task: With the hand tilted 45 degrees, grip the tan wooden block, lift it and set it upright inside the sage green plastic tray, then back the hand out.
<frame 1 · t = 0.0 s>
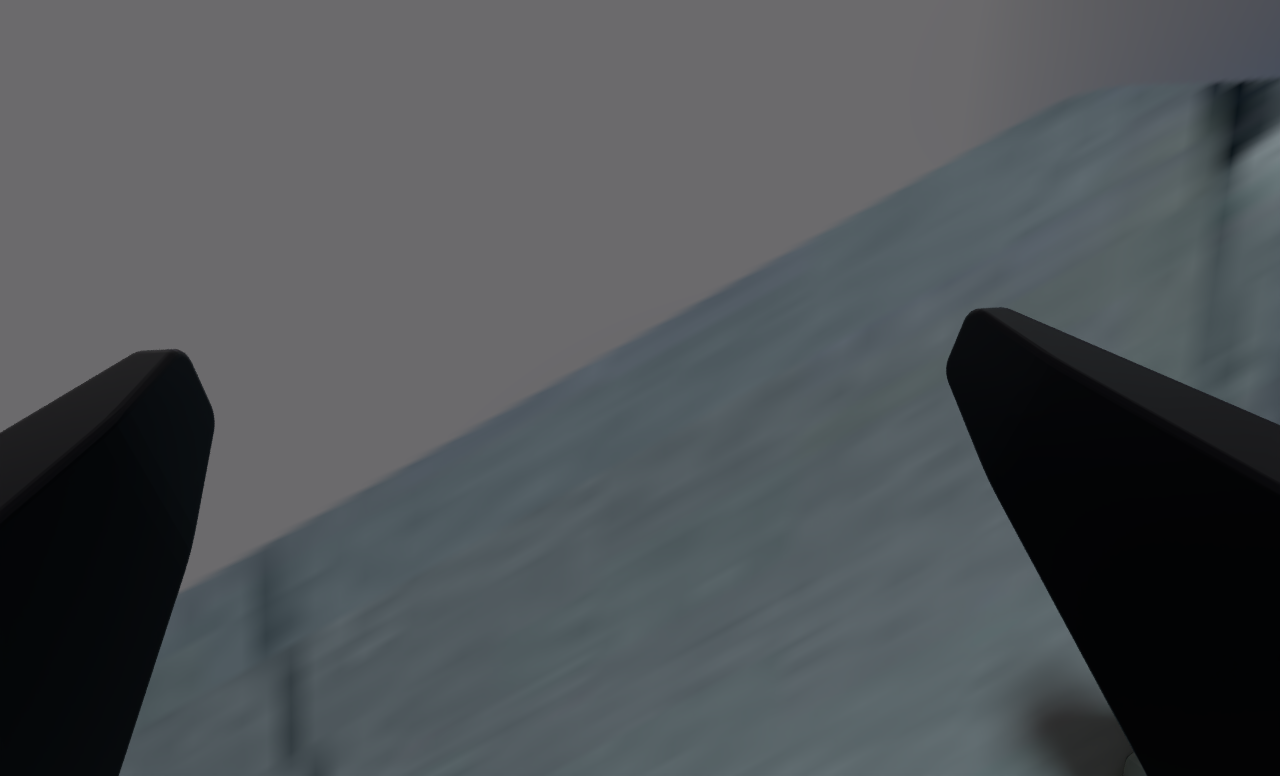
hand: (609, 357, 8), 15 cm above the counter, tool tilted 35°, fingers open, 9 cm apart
valve: (1227, 731, 30), on the counter
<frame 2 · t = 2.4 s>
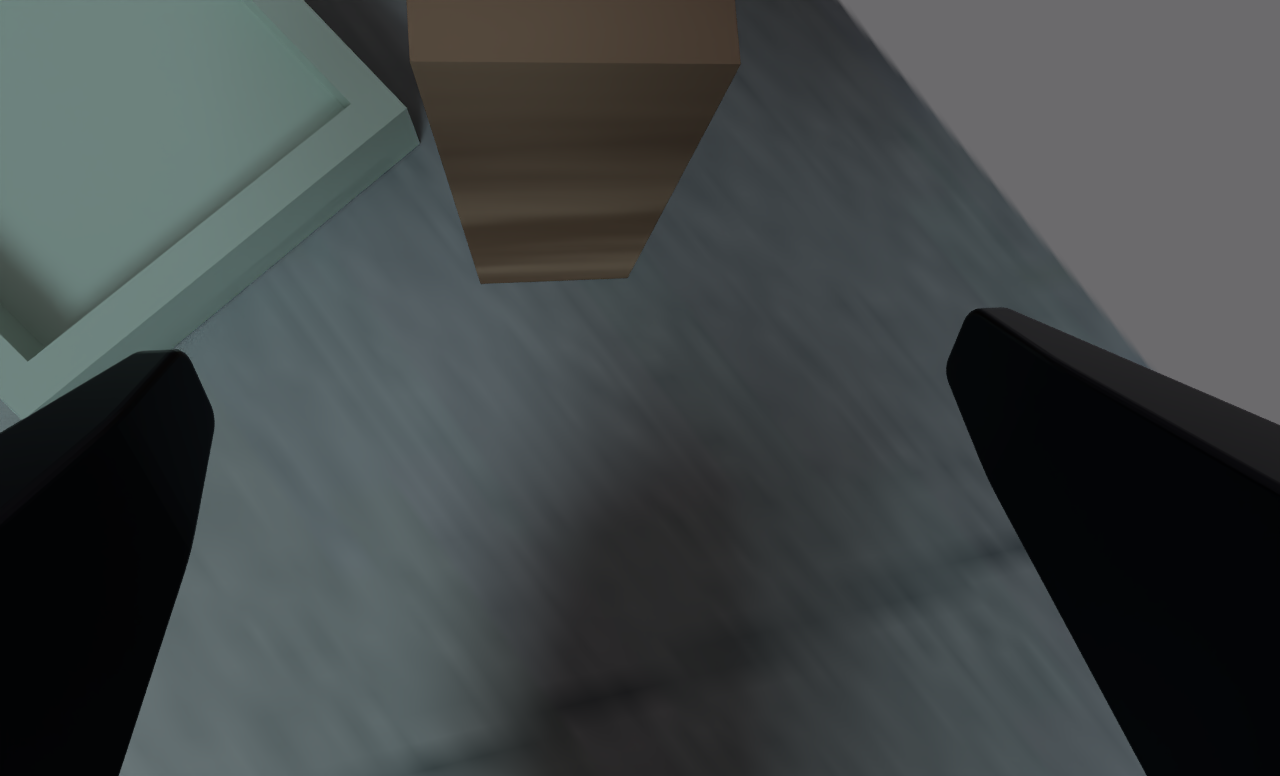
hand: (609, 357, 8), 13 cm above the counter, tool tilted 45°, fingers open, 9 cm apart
tan wooden block: (550, 209, 21), on the counter
tray: (106, 121, 20), on the counter
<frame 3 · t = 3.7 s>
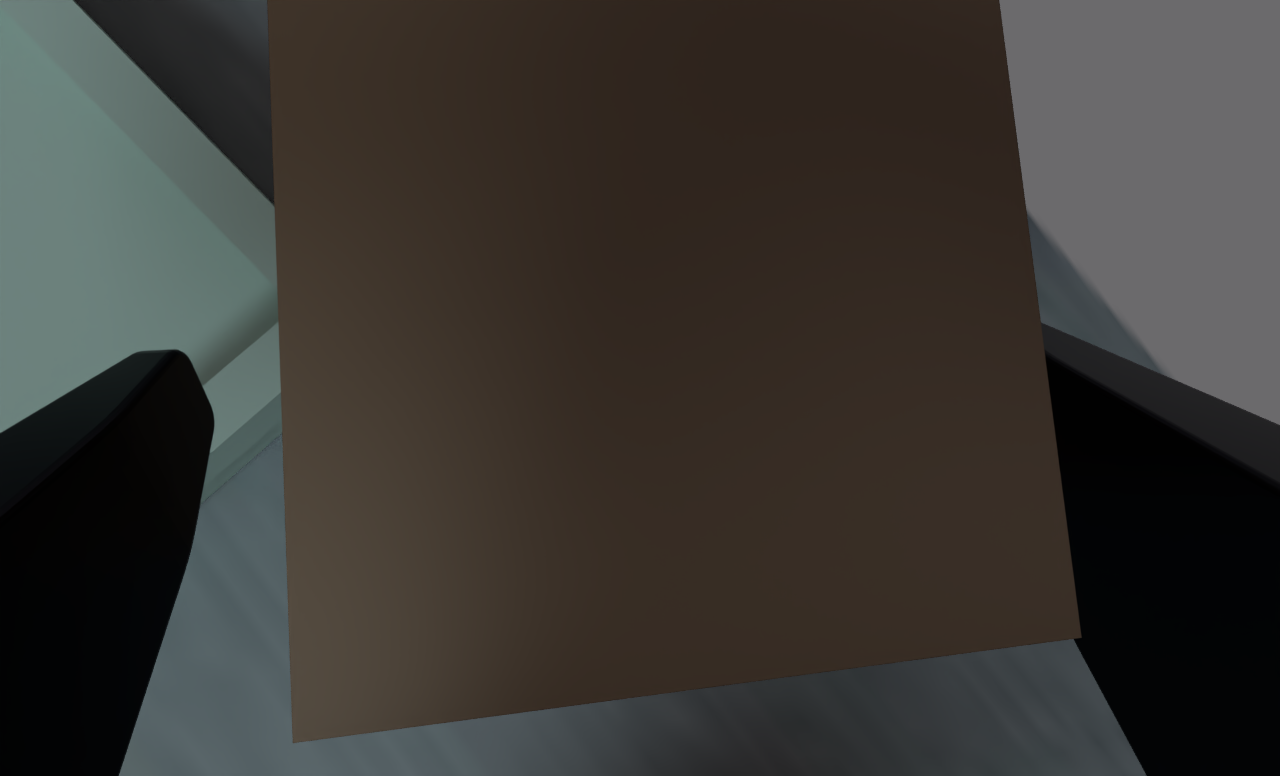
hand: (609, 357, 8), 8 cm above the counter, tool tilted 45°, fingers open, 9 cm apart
tan wooden block: (574, 414, 16), on the counter
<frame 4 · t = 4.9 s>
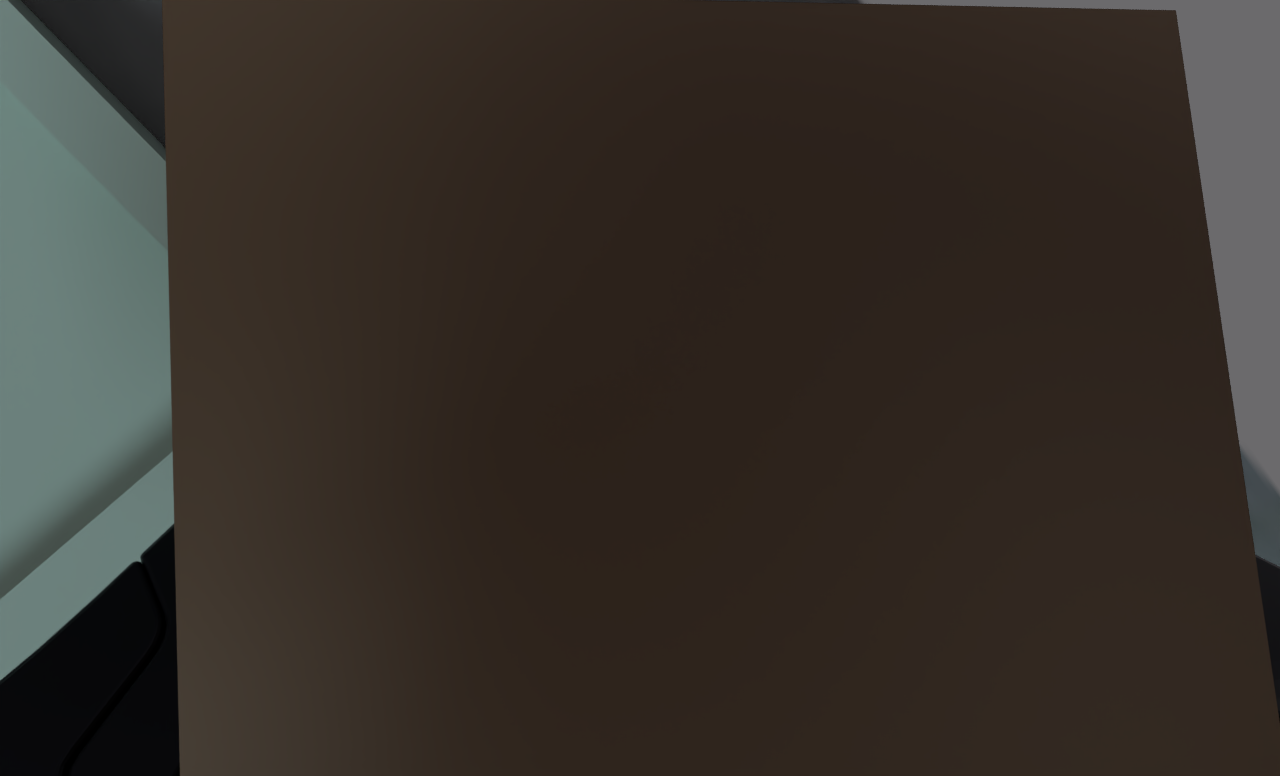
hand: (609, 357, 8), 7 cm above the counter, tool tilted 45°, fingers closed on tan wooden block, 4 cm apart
tan wooden block: (580, 466, 15), on the counter, touching gripper
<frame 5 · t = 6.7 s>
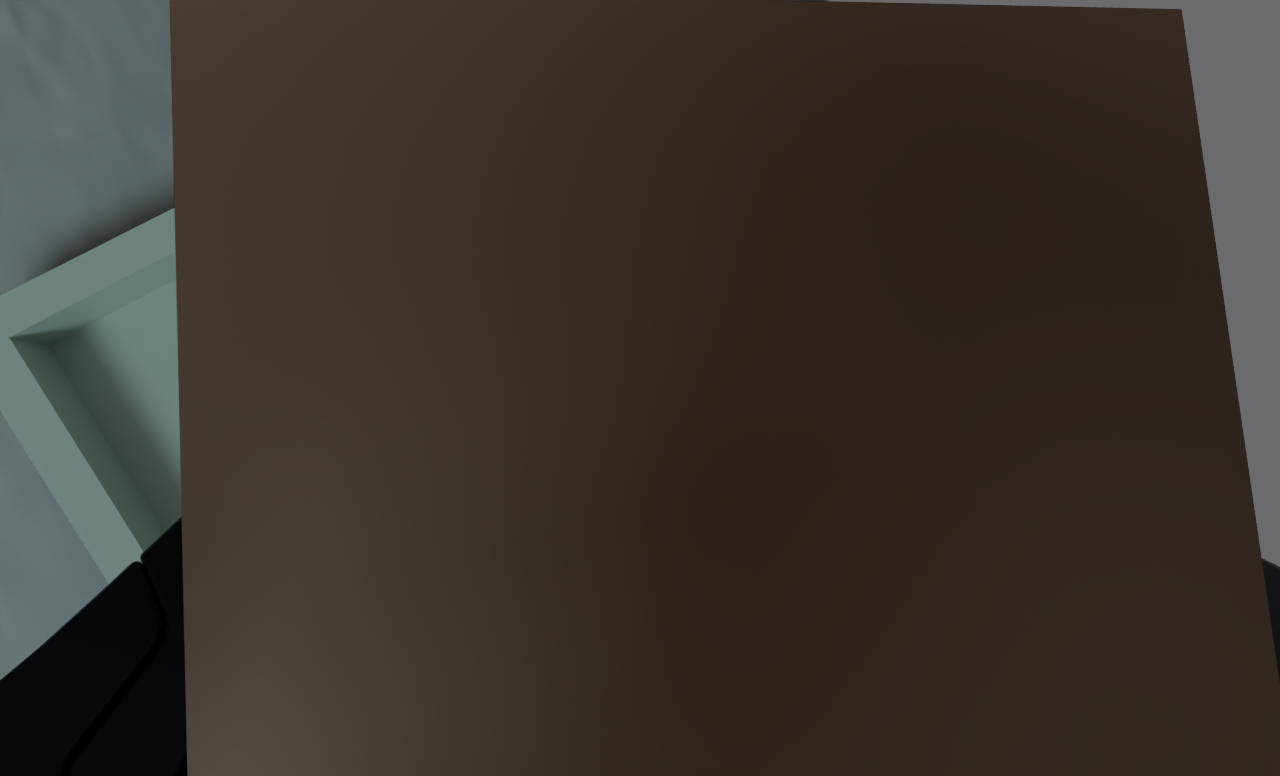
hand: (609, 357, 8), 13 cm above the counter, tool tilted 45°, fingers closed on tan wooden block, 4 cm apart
tan wooden block: (582, 466, 15), point 6 cm above the counter, touching gripper
tray: (333, 408, 20), on the counter
when the fingers open (9 cm above the counter, at t = 8.5 s): tan wooden block drops 1 cm, resting on tray.
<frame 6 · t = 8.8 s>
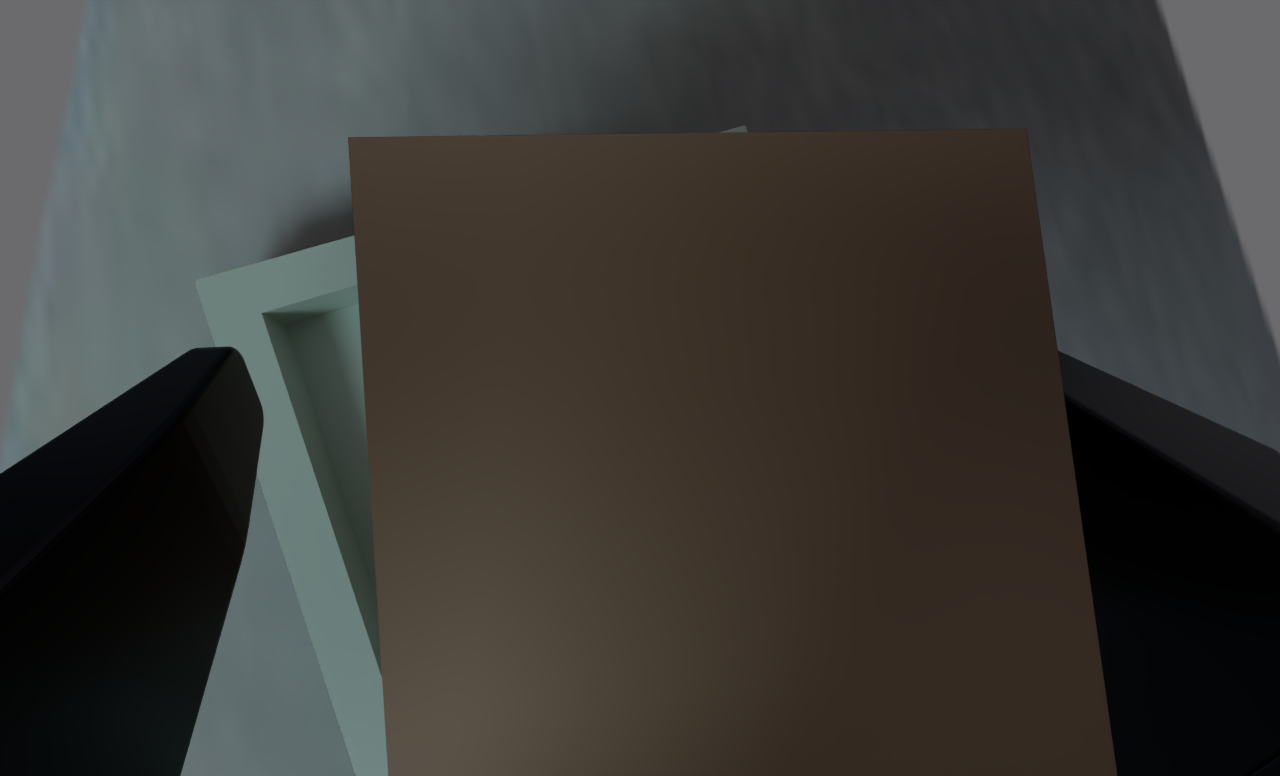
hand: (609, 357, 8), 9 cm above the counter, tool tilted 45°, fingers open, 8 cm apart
tan wooden block: (579, 462, 16), point 1 cm above the counter, touching tray
tray: (574, 463, 17), on the counter
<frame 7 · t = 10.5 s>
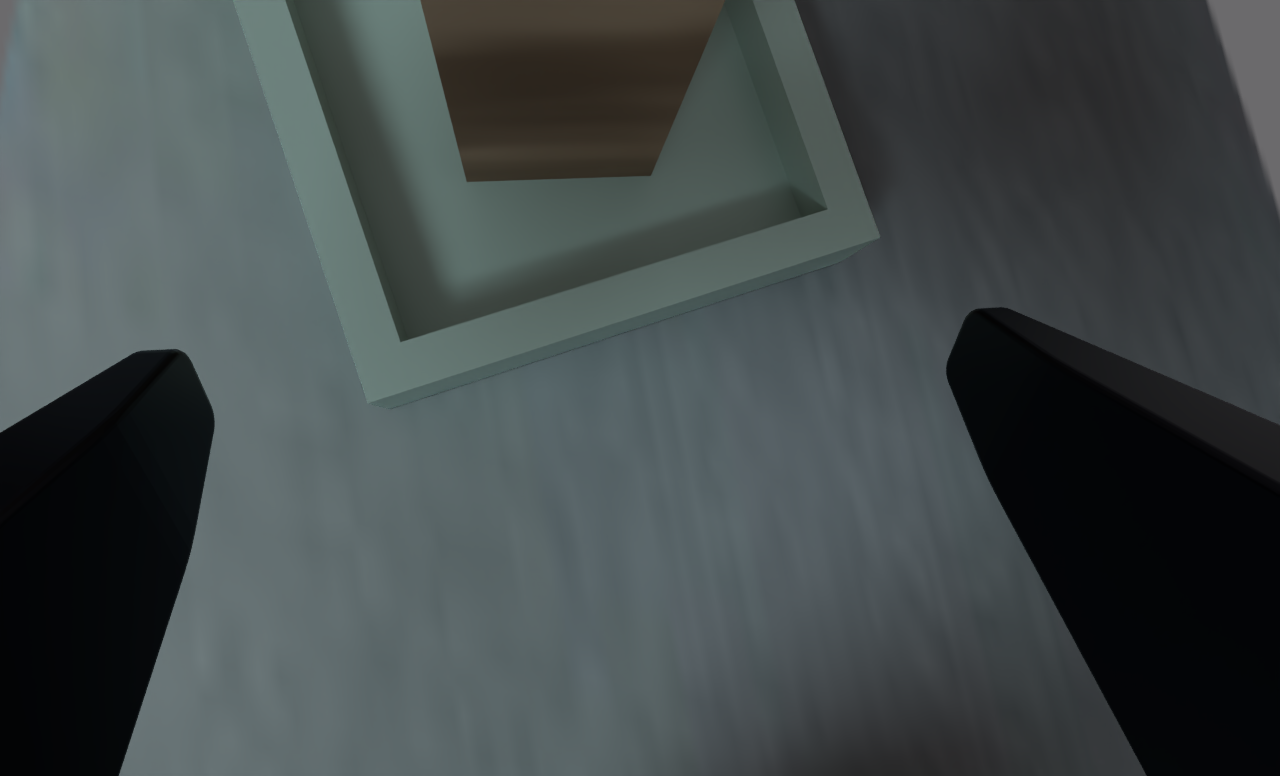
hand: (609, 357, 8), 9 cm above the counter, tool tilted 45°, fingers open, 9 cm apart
tan wooden block: (553, 90, 17), point 1 cm above the counter, touching tray
tray: (549, 108, 18), on the counter
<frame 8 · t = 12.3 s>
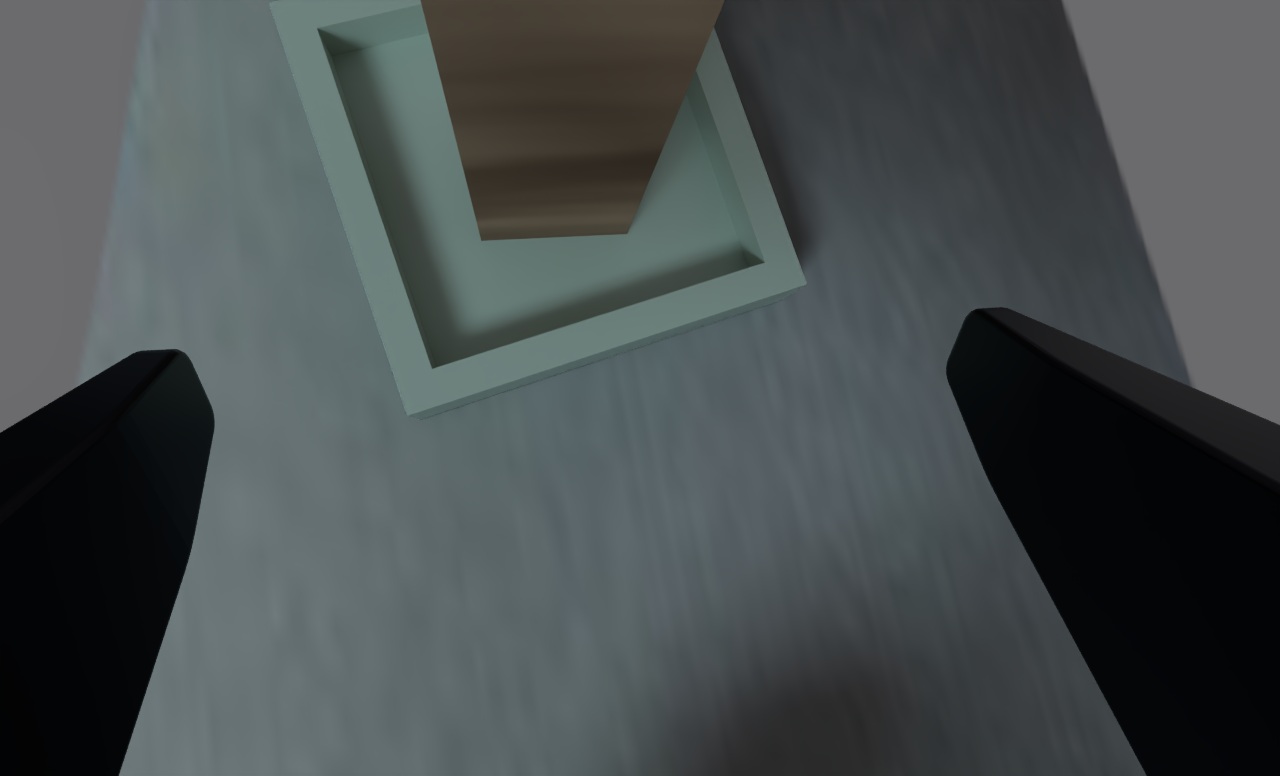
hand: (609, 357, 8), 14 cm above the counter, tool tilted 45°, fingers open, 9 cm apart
tan wooden block: (549, 167, 21), point 1 cm above the counter, touching tray
tray: (547, 178, 22), on the counter
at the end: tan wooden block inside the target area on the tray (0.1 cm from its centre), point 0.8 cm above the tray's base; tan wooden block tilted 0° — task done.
